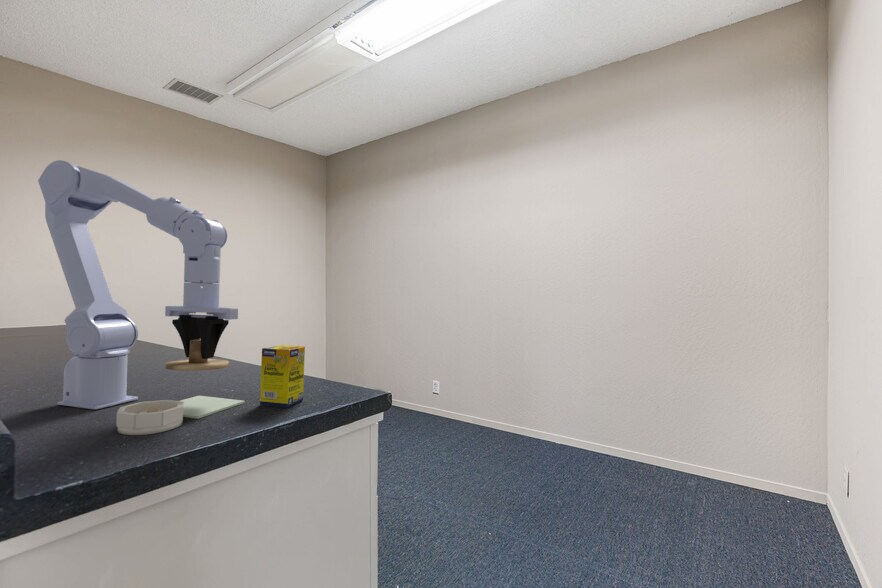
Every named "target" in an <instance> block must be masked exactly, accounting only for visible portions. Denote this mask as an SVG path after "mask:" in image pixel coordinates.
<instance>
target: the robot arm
mask: <svg viewBox="0 0 882 588" xmlns="http://www.w3.org/2000/svg"><path fill="white" fill-rule="evenodd" d="M37 181H38V185H39V188H40V190H41V195H42V196H43V200H44V202H45V205H44V207H45V208H44V210H45V211H44V212H45V213H44V215H45V217H44V218H45V222H46V224H47V227H48V230H49V234H50V237H51V240H52V242H53V246H54V248H55V252H56V254H57V257H58V259H59V263H60V266H61V268H62V271H63V275H64V277H65V281H66V284H67V287H68V290H69V292H70V296H71V298H72V301H73V304H74V307H75V308H74V309H73V311H72V312H70V314H69V315H67V316H66V317H65V319H64V323H65V327H66V334H65V341H66V342H65V343H66V345H67V348H68V349H69V350H70V351H71V352H72V354H73V355H74V356H73V357H71V358H70V359H69V360H68V361H67V363H65V366H64V367H63V368H64V369H63V387H62V388H63V389H62V390H63V391H62V400H60V401H58V402H57V403H56V404H57V405H59V406H65V407H75V408H81V409H88V410H99V409H103V408H108V407H113V406H116V405H120V404H124V403H128V402H129V403H130V402H132V401H137V400H138V399H139V397H138V396H136V395H135V396H134V395H127V388H128V387H127V385H128V378H127V377H128V357H129V356H128V354H130V353H131V348H132V347H133V346H134V345H135V344H136V343H137V341H138V338H139V329H138V327H137V325H136V323H135V322H134V321H133V320H132V319H131V317H130V316H129V314H128V312H127V309H125V308H124V307H123V306H121V305H119V304H118V303H117V302H115V301H114V300H113V297H112V294H111V292H110V288H109V286H108V285H109V284H108V283H107V280H106V277H105V274H104V271H103V269H102V265H101V262H100V259H99V256H98V254H97V250H96V249H95V247H96V246H95V245H94V241H93V239H92V236H91V232H90V230H89V227H88V223H89V222H90V220H94V219H95V218H96V217H97V216H98V215H100V214H101V213H102V212H103V211H104V210H105V209H106V208H107V207H108V206H109V205H111V204H112V203H113V202H114V203H122V204H123V205H126V206H127V207H130V208H132V209H133V210H137V211H138V212H140V213H143V214H144V215H146V216H145V217H146V220H147V223H149V224H150V225H151V226H153V227H155V228H157V229H159V230H160V231H163V232H165V233H167V234H169V235H170V236H172V237H174V238H176V239H178V241H179V242H180V243H181V245H182V249H183V250H182V253H183V254H184V265H183V267H184V272H183V294H182V296H183V297H182V298H183V300H182V301H183V302H182V303H183V305H165V306H164V307H165V309H164V310H165V311H164V314H165V317H178V318H177V319H172V322H171V323H172V325H173V327H174V329H176V331H177V333H178V335H179V337H180V339H181V343H182V347H183V350H184V355H185V357H186V358H189V350H190V340H201V356H202V359H207V358H208V359H214V356H215V354H216V350H217V347H218V344H219V341H220V339H221V337H222V334H223V332H224V331H225V330H226V328H227V326H228V325H229V321H230V320H238V319H239V308H233V307H220V284H221V283H220V280H221V279H220V277H221V249H222V248H224V246H225V244H226V243H227V240H228V231H227V229H226V227H225V226H224V225H223V224H222V223H220V222H219V221H218V220H217V219H210V218H205V217H204V216H203V215H204V214H203V212H202V211H200V210H196V209H195V210H192V209H190V208H188V207H186V206H184V205H182V204H181V203H182V201H181V200H180V199H178V198H175V197H173V196H170V197H169V198H168V197H164V196H163V197H158V198H154V197H152V196H150V195H148V194H147V193H144V192H143V191H142V190H139V189H138V188H136V187H134V186H132V185H131V184H129V183H127V182H125V181H123V180H122V179H120V178H116V177H113V176H110V175H108V174H104V173H101V172H98V171H96V170H95V171H94V170H91V169H88V168H85V167H82V166H78V165H75V164H72V163H71V162H68V161H66V160H60V159H59V160H55V161H52V162H50V163H49V164H48V165H47V166H46V167H45V168H44V170H43V171H42V172H41V175H40V176H39V178H38V180H37ZM197 313H200V314H197ZM202 313H204V314H202ZM205 313H206V314H205Z"/></svg>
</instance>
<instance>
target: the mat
mask: <svg viewBox="0 0 882 588" xmlns="http://www.w3.org/2000/svg"><path fill="white" fill-rule="evenodd" d="M180 401H182V402H184V403H183V418H190V419H197V420H198V419H201V418H204V417H208V416H210V415H214V414H216V413H219V412H222V411H225V410H228V409H231V408H234V407H236V406H239V405H242V404H246V401H245V400H241V399H234V398H233V399H232V398H225V397H224V398H223V397H214V396H207V395H196V396H193V397H189V398H188V397H187V398H185V399H181V400H180Z"/></svg>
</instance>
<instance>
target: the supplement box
mask: <svg viewBox="0 0 882 588" xmlns="http://www.w3.org/2000/svg"><path fill="white" fill-rule="evenodd" d="M305 348H306V346H301V345H284V344H278V345H275V346H270V347H269V346H268V347H262V348H261V363H260V364H261V366H260V388H259V389H260V392H259V393H260V397H259V405H260V406H264V407H265V406H266V407H273V408H274V407H276V408H285V409H287V408H289V407H290V406H294V405H295V404H298V403H300V401H301V402H303V401H304V387H305V386H304V383H305V381H304V380H305V351H306V350H305ZM302 400H303V401H302Z"/></svg>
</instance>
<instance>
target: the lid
mask: <svg viewBox="0 0 882 588" xmlns="http://www.w3.org/2000/svg"><path fill="white" fill-rule="evenodd" d="M229 364H230V361H229V360H226V359H217V358H207V359H202V356H201V339H200V340H190V350H189V357H188V359H187V358H186V359H178V360H169V361H166V362H165V367H164V368H165V369H167V370H169V371H170V370H171V371H181V372H182V371H185V372H188V371H191V372H193V371H195V372H196V371H197V372H198V371H212V370H219V369H220V370H221V369H225V368H228V367H229Z"/></svg>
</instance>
